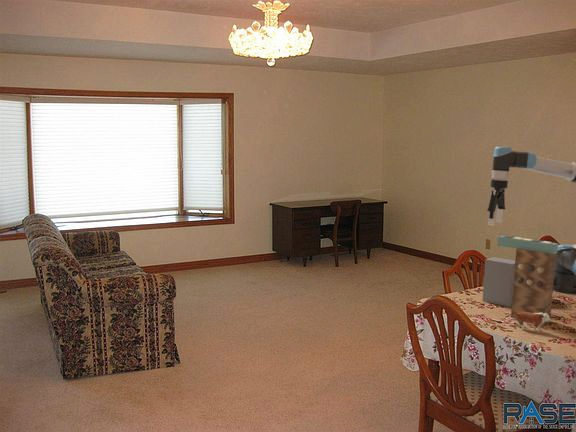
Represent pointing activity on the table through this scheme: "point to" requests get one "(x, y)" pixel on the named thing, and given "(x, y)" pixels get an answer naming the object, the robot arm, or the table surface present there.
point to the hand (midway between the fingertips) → (494, 224)
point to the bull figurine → (531, 319)
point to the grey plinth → (498, 281)
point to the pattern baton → (528, 244)
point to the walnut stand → (533, 282)
